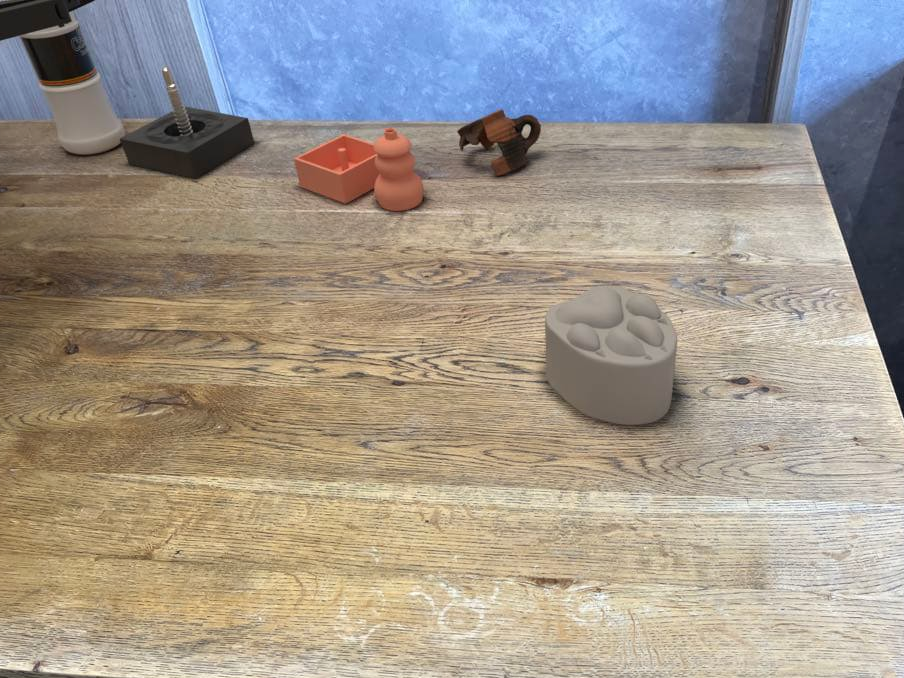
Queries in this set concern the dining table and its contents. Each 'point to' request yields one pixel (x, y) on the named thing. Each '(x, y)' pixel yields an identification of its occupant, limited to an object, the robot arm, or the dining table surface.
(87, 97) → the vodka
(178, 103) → the screw
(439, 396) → the dining table surface
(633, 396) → the lumpy-topped squat cylinder
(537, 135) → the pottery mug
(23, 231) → the dining table surface
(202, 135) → the hole plate
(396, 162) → the pottery
